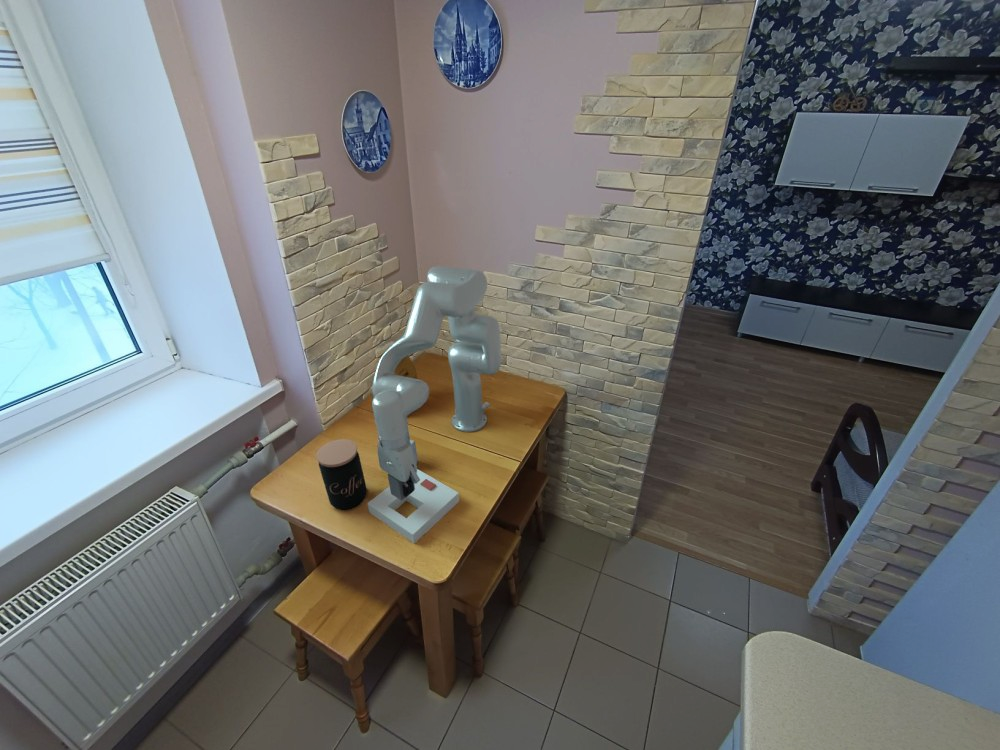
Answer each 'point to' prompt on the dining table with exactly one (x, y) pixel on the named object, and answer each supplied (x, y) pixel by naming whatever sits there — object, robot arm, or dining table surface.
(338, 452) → the coffee jar
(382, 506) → the socket plate
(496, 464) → the dining table surface
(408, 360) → the coffee package
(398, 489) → the plug
